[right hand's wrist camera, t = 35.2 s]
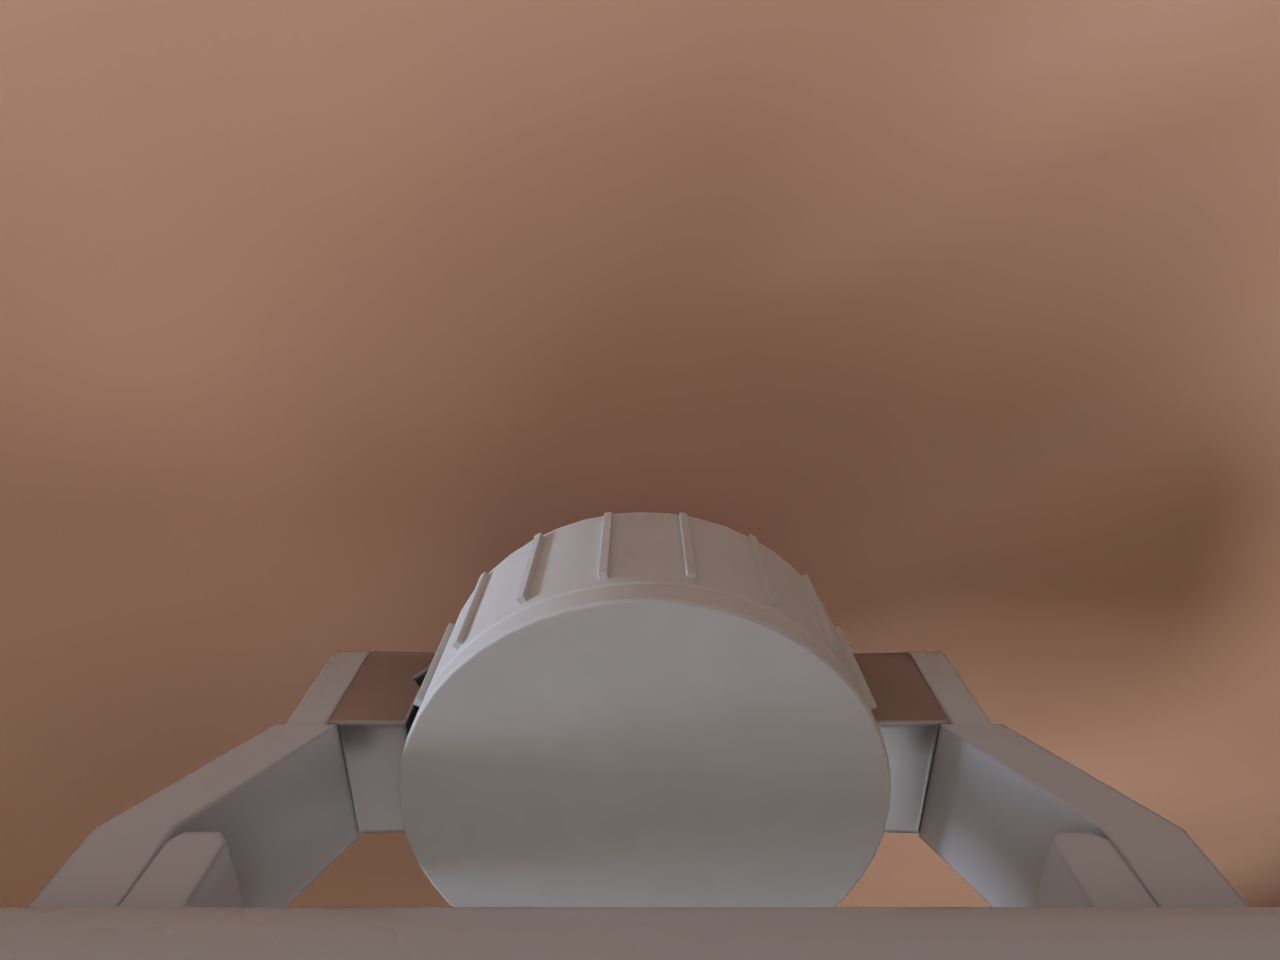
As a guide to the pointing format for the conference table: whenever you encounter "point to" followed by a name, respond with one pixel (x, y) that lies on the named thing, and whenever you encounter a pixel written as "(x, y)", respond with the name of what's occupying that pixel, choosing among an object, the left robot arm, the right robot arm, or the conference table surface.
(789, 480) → the conference table surface
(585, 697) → the lid
